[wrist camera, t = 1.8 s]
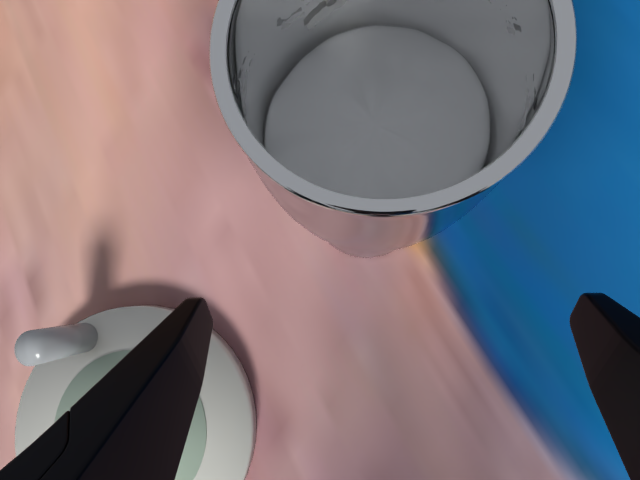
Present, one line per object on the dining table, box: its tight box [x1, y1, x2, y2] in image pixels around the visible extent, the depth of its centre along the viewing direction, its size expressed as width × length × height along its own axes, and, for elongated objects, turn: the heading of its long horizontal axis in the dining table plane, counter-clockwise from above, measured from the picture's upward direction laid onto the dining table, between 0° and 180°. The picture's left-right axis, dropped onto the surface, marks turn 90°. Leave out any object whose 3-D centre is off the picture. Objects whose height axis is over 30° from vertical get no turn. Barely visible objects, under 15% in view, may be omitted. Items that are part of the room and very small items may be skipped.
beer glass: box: [209, 0, 577, 258], centre depth 14 cm, size 7×7×15 cm
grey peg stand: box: [15, 305, 257, 480], centre depth 19 cm, size 13×13×5 cm
